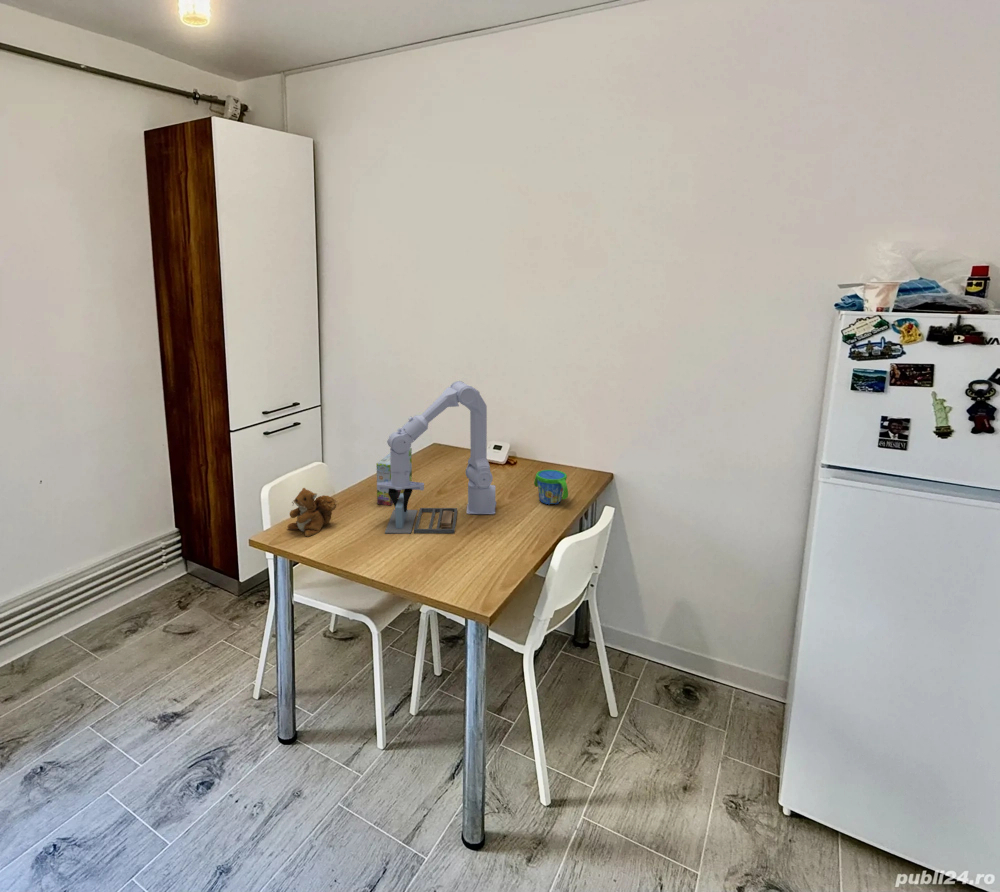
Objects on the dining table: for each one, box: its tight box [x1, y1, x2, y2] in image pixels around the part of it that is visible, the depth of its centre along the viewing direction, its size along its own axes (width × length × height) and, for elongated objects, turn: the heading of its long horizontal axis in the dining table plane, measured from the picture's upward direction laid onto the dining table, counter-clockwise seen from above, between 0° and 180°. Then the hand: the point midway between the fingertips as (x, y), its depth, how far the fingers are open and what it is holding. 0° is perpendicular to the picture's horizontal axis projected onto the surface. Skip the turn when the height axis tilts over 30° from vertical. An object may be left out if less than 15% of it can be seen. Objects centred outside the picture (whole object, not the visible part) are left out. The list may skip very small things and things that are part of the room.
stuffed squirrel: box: [287, 487, 338, 538], centre depth 183 cm, size 10×14×13 cm
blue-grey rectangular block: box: [394, 493, 407, 528], centre depth 189 cm, size 2×12×7 cm, turn 1°
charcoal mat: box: [384, 509, 419, 535], centre depth 190 cm, size 8×18×1 cm, turn 1°
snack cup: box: [533, 469, 569, 505], centre depth 207 cm, size 16×10×10 cm
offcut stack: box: [440, 511, 454, 529], centre depth 190 cm, size 3×12×2 cm, turn 1°
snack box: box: [376, 447, 413, 506], centre depth 211 cm, size 21×6×15 cm, turn 168°
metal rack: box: [413, 507, 458, 535], centre depth 190 cm, size 12×17×1 cm
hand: (401, 510), depth 189 cm, fingers closed on blue-grey rectangular block, 2 cm apart
